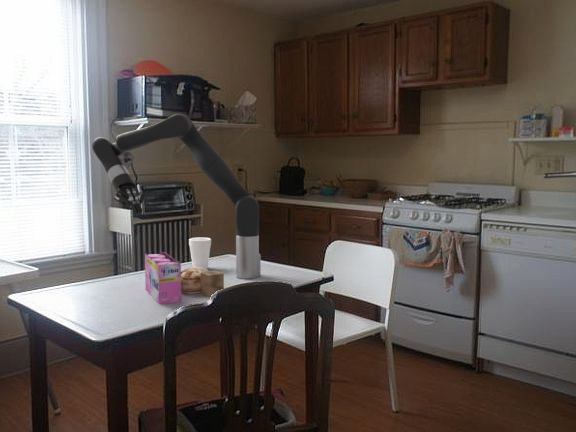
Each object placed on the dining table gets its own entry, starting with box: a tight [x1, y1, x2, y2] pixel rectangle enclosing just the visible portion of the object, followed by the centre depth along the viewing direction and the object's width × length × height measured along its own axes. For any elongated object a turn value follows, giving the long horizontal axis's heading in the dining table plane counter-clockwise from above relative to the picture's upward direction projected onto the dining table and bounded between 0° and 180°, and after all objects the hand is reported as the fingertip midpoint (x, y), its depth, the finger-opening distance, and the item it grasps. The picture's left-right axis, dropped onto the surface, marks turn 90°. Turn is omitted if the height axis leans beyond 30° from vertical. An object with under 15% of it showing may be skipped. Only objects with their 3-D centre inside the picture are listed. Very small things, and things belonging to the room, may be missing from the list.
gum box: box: [144, 251, 182, 305], centre depth 193 cm, size 24×8×14 cm, turn 27°
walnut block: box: [200, 270, 225, 298], centre depth 194 cm, size 6×6×8 cm
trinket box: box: [181, 266, 209, 295], centre depth 202 cm, size 13×15×8 cm
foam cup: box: [188, 236, 212, 270], centre depth 237 cm, size 10×9×13 cm
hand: (139, 213), depth 202 cm, fingers closed
